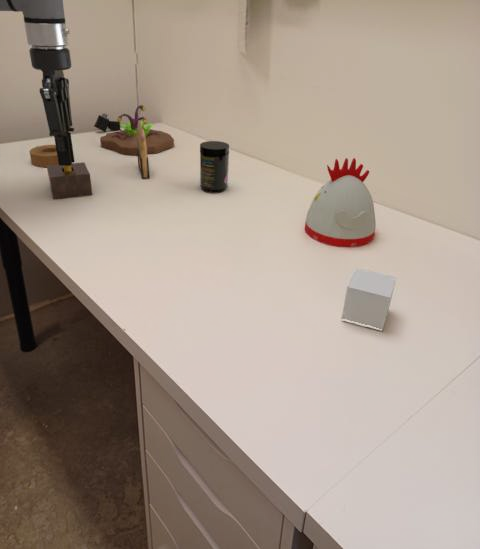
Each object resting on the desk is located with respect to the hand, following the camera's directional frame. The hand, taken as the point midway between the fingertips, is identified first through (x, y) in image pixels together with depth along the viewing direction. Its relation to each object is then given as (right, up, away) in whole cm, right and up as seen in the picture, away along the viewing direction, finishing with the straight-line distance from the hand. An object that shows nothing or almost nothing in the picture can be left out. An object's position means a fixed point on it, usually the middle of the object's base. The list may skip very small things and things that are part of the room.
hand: (66, 163), depth 106 cm
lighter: (-4, +22, +49) cm, 53 cm away
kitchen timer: (+59, -16, -9) cm, 62 cm away
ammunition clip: (+14, +1, +16) cm, 22 cm away
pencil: (0, -6, +3) cm, 6 cm away
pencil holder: (0, -6, +3) cm, 6 cm away
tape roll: (-11, +5, +21) cm, 24 cm away
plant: (+8, +14, +37) cm, 40 cm away
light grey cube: (+58, -31, -34) cm, 74 cm away
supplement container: (+32, -4, +8) cm, 34 cm away
